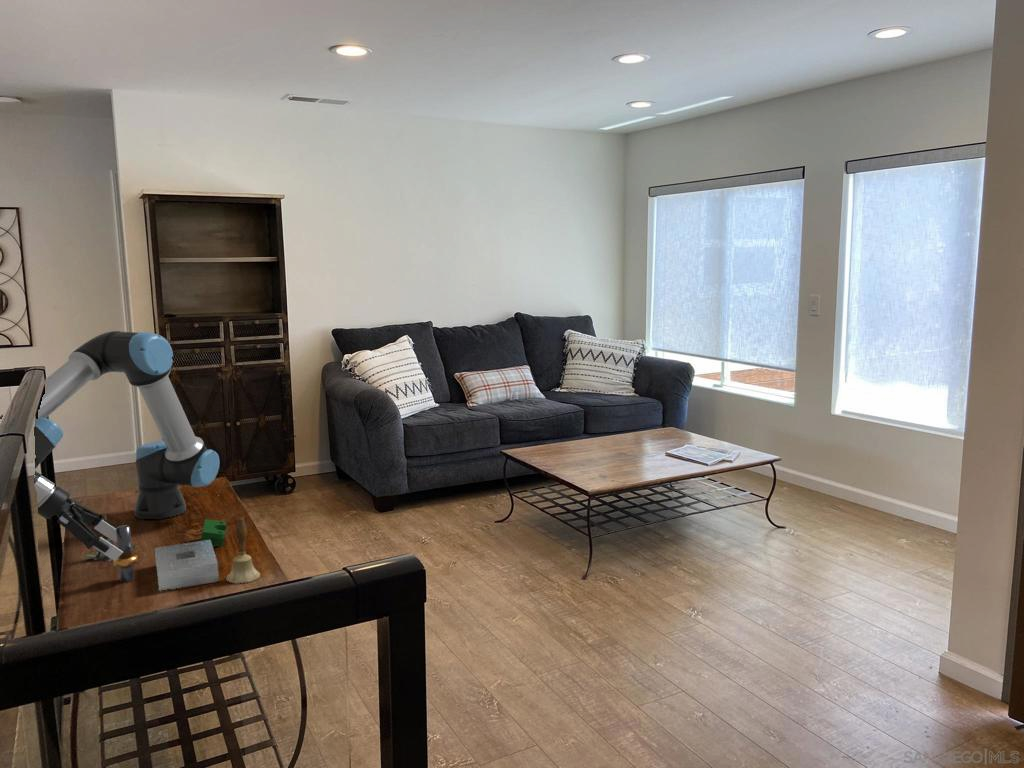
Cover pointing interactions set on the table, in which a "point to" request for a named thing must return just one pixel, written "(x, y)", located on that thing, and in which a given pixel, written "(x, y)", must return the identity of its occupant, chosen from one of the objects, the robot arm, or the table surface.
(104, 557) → the eiffel tower figurine
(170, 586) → the hole block
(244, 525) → the hand bell
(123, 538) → the pin
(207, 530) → the clamp
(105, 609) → the table surface
